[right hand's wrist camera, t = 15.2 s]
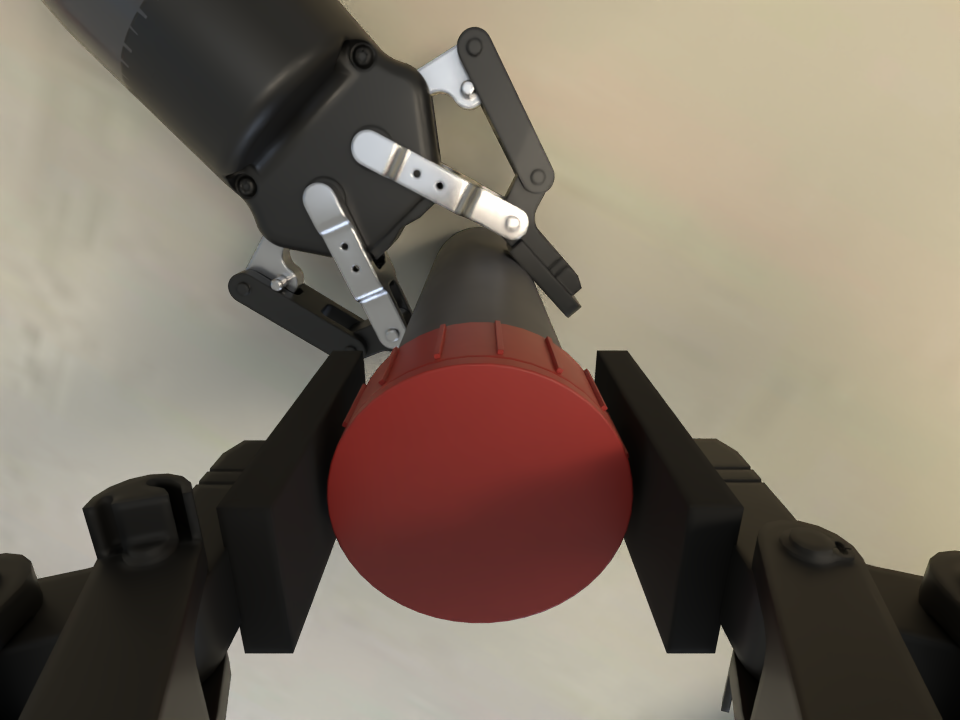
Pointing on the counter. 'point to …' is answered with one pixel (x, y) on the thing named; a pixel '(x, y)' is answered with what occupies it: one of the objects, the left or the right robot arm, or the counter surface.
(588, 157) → the counter surface
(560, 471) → the lid
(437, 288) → the grey cylinder
